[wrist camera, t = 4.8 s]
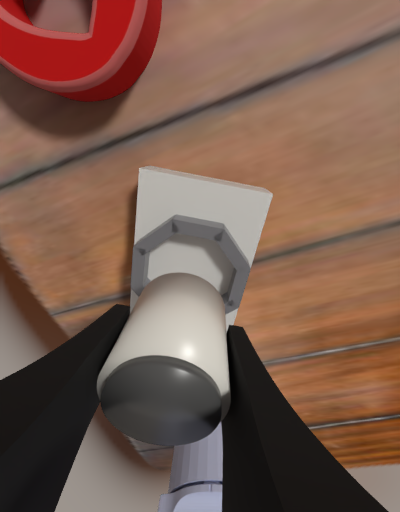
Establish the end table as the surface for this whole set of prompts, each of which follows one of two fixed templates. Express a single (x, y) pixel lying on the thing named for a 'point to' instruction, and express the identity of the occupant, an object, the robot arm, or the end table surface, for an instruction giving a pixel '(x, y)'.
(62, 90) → the decorative ornament
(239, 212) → the plate with octagonal ring
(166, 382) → the lens
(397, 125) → the end table surface
